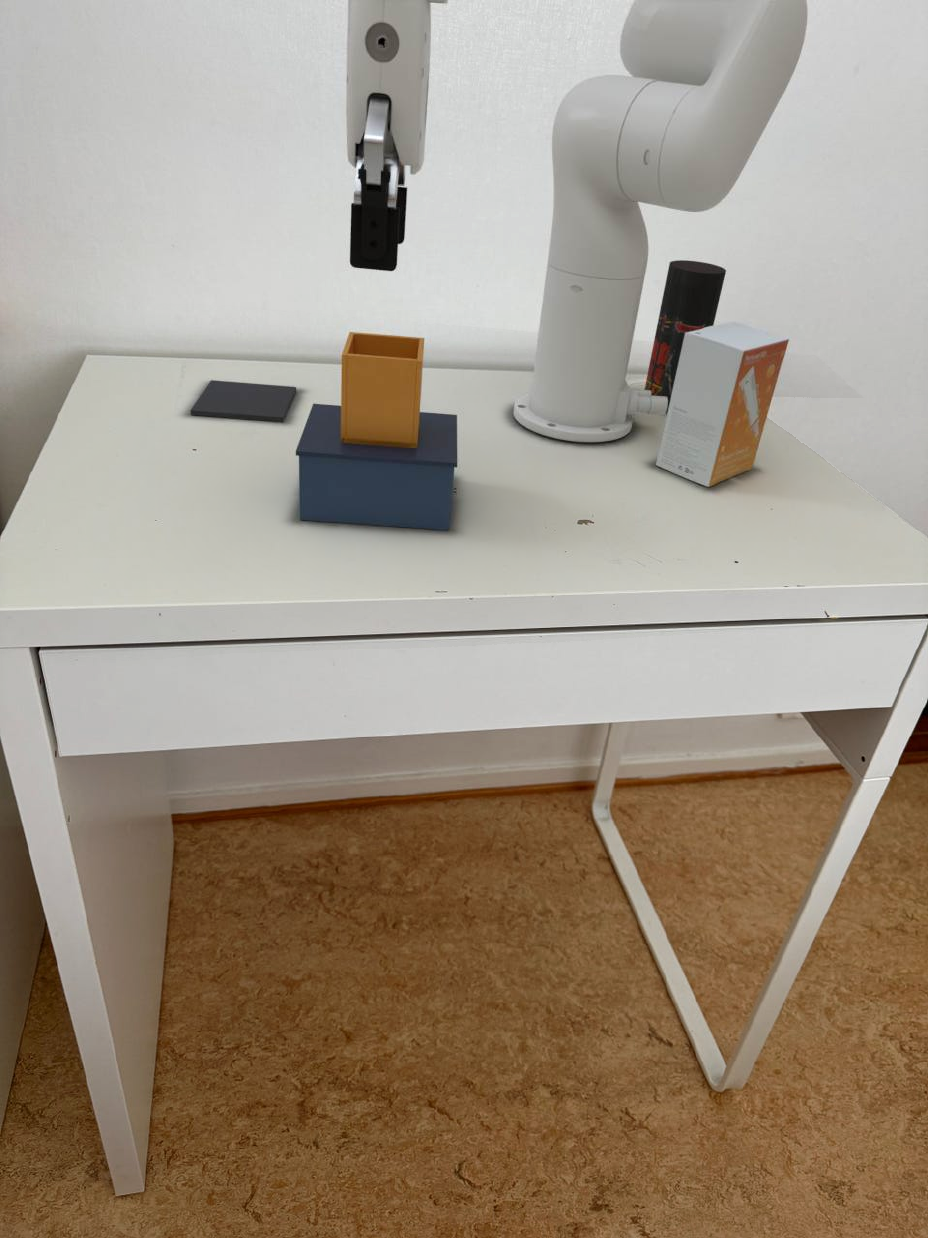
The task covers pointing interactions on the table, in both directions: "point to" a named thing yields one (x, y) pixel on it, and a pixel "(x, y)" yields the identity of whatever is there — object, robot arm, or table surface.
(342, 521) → the storage tub
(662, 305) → the deodorant
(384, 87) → the robot arm
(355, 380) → the amber container
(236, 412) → the rubber mat
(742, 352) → the small box
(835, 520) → the table surface
